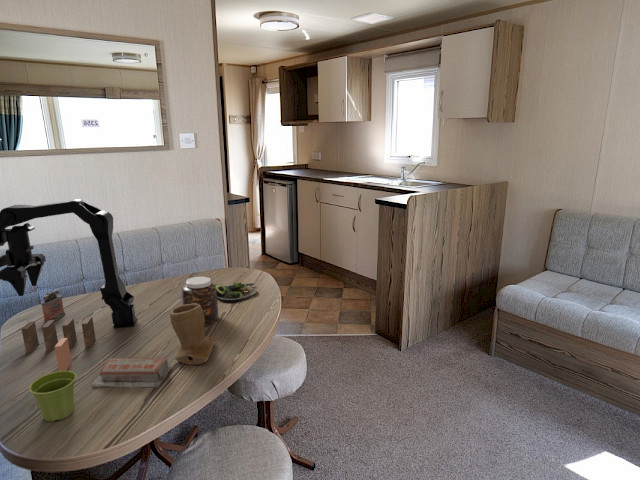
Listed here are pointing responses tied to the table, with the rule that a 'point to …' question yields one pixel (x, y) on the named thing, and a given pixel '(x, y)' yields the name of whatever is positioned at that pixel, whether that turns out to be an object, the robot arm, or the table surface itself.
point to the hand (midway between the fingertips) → (28, 290)
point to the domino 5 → (88, 331)
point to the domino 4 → (63, 354)
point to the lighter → (52, 306)
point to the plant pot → (55, 394)
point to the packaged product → (132, 372)
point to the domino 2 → (50, 335)
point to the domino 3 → (70, 332)
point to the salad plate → (233, 291)
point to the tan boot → (191, 334)
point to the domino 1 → (30, 337)
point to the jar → (202, 297)
